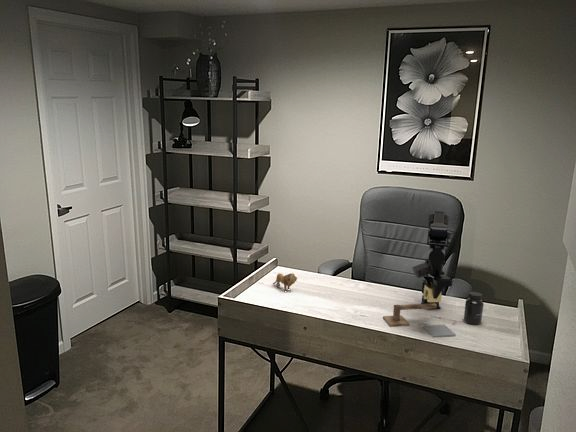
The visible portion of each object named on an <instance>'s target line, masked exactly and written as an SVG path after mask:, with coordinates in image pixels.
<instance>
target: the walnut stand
mask: <svg viewBox="0 0 576 432" xmlns="http://www.w3.org/2000/svg"><path fill="white" fill-rule="evenodd" d="M433 308H437V305H436V304H435V303H433V304H421V303H417V304H416V303H414V304H413V303H411V304H393V310H392V311H393V313H392V315H383V316H382V318H383V320H384V321H385V323H387V325H388V326H389V327H390V328H394V327H395V328H396V327H410V326H411V325H410V322H409V321H408V320H407V319H406V318H405V317H404V316H403V315H402V314H401V311H402V310H403V311H405V310H434V309H433Z"/></svg>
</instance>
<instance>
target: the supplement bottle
mask: <svg viewBox="0 0 576 432" xmlns="http://www.w3.org/2000/svg"><path fill="white" fill-rule="evenodd" d="M482 299H483V294H482V293H481V292H476V291H470V292H469V295H468V297H467V299H466V300H465V304H464V305H465V306H464V313H463V322H465V323H467V324H468V325H472V326H478V325H481V323H482V320H483V312H484V306H485V305H484V302H483V300H482Z"/></svg>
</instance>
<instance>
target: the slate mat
mask: <svg viewBox="0 0 576 432" xmlns="http://www.w3.org/2000/svg"><path fill="white" fill-rule="evenodd" d="M422 328H424V330H426V332H428V333H429V335H430V336H431V337H433V338H447V337H456V335H457V334H456V333H454V332H453V331H452V330H451V329H450V328H449V327H448V326H447V325H446V324H429V325H427V324H426V325H425V324H424V325H423V326H422Z"/></svg>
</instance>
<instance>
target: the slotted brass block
mask: <svg viewBox="0 0 576 432" xmlns="http://www.w3.org/2000/svg"><path fill="white" fill-rule="evenodd" d="M423 289H424V299H427V302H439V303H441V302H442V296H441V293H442V292H441V293H440V295H439V296H438V298H437V299H434V295H433V285H425V287H424V288H423Z"/></svg>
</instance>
